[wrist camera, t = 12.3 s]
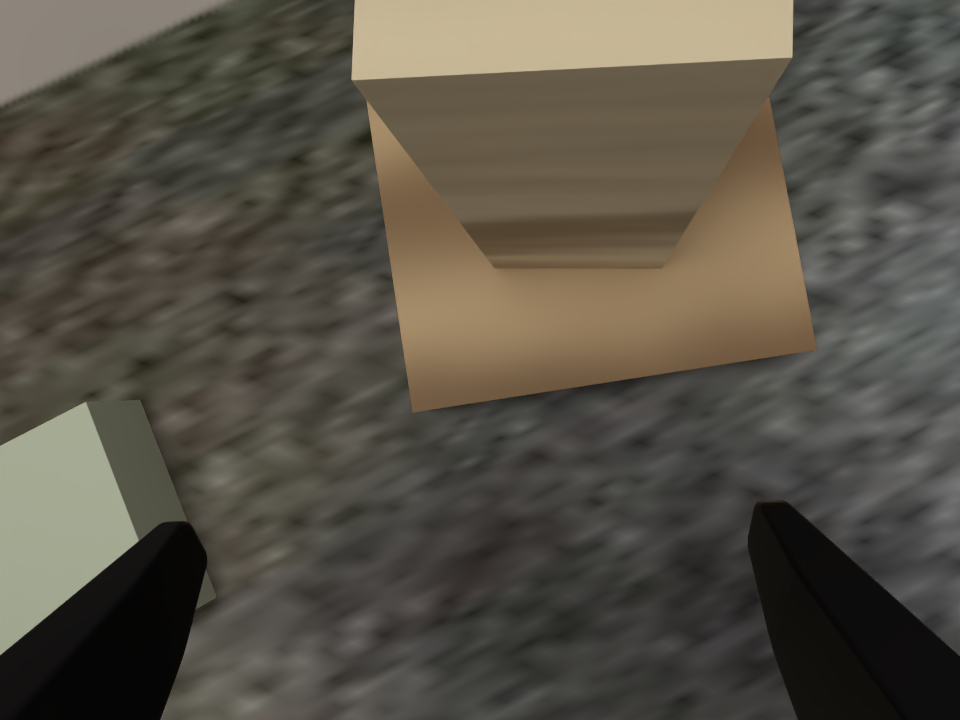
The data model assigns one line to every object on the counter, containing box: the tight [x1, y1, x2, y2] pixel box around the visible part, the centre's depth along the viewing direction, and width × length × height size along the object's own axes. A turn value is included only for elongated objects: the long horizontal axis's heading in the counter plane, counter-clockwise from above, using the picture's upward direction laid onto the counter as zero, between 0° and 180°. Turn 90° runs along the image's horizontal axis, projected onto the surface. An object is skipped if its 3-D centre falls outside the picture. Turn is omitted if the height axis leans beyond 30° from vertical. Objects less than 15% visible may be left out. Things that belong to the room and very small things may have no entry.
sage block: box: [0, 400, 217, 655], centre depth 23 cm, size 8×8×3 cm
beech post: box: [352, 0, 793, 268], centre depth 13 cm, size 5×5×12 cm
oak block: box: [367, 96, 817, 412], centre depth 21 cm, size 12×12×3 cm
